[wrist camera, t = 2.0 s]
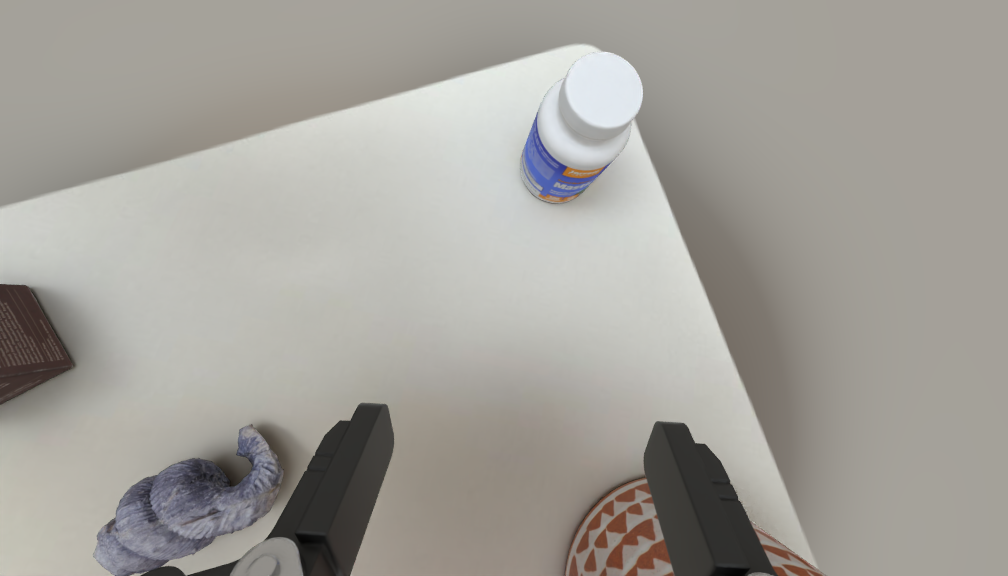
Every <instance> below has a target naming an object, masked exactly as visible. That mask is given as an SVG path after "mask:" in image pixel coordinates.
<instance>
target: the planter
mask: <svg viewBox="0 0 1008 576" xmlns="http://www.w3.org/2000/svg"><path fill="white" fill-rule="evenodd" d="M750 522H751V521H750ZM751 524H752V526H753V528H754V530H755V532H756V535H757V537H758V539H759V541H760V543H761V545H762V547H763V549H764V551H765V553H766V555H767V557H768V559H769V561H770V563H771V565H772V567H773V569H774V570H775V572H776V573H777V575H778V576H826V575H824V574H823V573H822V572H820V571H819V570H818V569H816V568H815V567H813V566H812V565H811V564H809V563H808V562H807V561H805V560H804V559H802V558H801V557H800V556H798V555H797V554H795V553H794V552H793V551H791V550H790V549H788V548H787V547H786V546H784V545H783V544H781V543H780V542H779V541H777V540H776V539H774V538H773V537H772V536H770V535H769V534H767V533H766V532H765V531H763V530H762V529H760V528H759V527H758V526H756V525H755V524H753V523H752V522H751ZM565 576H674V572H673V569H672V565H671V562H670V558H669V555H668V551H667V548H666V544H665V541H664V538H663V534H662V531H661V527H660V524H659V520H658V517H657V513H656V510H655V506H654V503H653V500H652V496H651V493H650V489H649V486H648V482H647V479H646V478H641V479H637V480H634V481H631V482H629V483H626V484H624V485H622V486H620V487H618V488H616V489H615V490H613V491H612V492H610V493H609V494H607V495H606V496H605V497H604V498H602V499H601V500H600V501H599V502H598V503H597V504H596V505H595V506H594V507H593V508H592V509H591V511H590V512H589V513H588V514H587V516H586V517H585V519H584V520H583V522H582V523H581V525H580V527H579V529H578V530H577V532H576V535H575V537H574V539H573V542H572V544H571V547H570V551H569V554H568V558H567V563H566V570H565Z"/></svg>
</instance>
